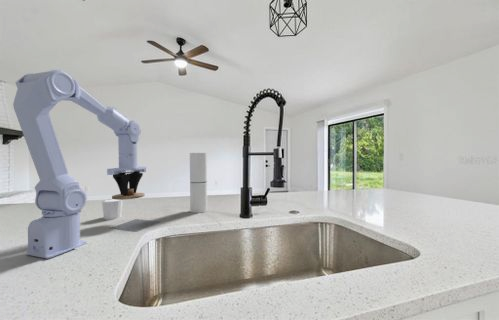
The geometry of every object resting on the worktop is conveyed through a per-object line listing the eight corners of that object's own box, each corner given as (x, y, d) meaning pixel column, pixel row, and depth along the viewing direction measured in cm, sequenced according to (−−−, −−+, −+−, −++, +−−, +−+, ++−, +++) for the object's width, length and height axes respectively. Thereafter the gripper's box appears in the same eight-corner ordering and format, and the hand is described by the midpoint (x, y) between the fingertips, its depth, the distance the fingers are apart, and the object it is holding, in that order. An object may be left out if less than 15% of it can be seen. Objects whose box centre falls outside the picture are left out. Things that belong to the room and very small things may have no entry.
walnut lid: (128, 200, 71) (128, 191, 71) (104, 198, 74) (104, 190, 74) (150, 195, 80) (150, 187, 80) (129, 193, 83) (129, 186, 83)
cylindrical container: (186, 212, 92) (186, 152, 92) (195, 208, 99) (195, 153, 98) (202, 213, 90) (201, 152, 90) (210, 209, 97) (209, 153, 96)
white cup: (98, 219, 82) (97, 201, 82) (116, 215, 88) (116, 197, 88) (108, 222, 79) (108, 202, 79) (127, 217, 85) (126, 199, 85)
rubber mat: (136, 232, 67) (136, 231, 67) (109, 229, 71) (109, 228, 71) (160, 222, 78) (160, 221, 78) (136, 220, 81) (136, 219, 81)
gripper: (118, 155, 69) (119, 198, 69) (152, 155, 82) (152, 191, 83) (101, 155, 71) (102, 197, 71) (137, 155, 85) (138, 190, 85)
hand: (128, 193), depth 77 cm, fingers closed on walnut lid, 3 cm apart
